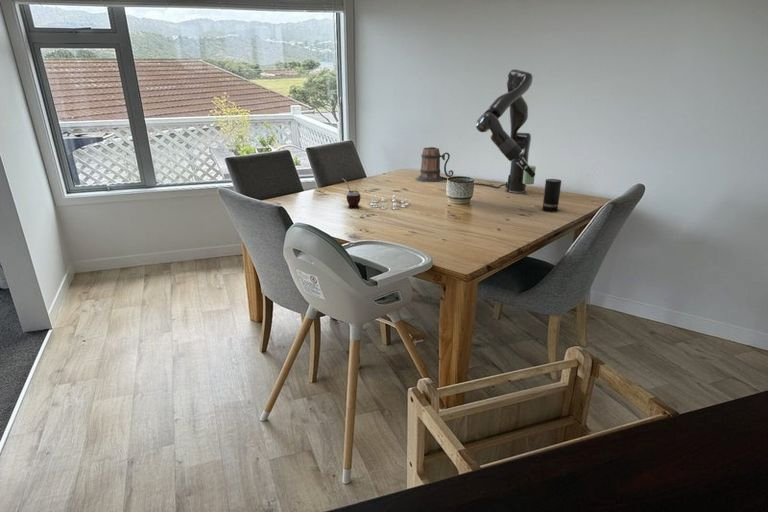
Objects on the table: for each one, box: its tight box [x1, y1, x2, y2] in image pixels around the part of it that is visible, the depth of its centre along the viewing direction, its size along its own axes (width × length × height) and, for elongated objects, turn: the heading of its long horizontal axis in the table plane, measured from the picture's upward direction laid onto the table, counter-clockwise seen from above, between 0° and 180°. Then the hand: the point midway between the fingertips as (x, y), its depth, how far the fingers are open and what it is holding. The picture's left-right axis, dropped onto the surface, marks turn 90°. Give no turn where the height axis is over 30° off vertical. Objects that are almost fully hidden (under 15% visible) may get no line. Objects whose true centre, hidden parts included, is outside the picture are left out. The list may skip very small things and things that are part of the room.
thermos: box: [542, 178, 562, 213], centre depth 233 cm, size 7×7×15 cm
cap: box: [523, 165, 537, 185], centre depth 225 cm, size 5×5×8 cm
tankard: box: [416, 146, 454, 183], centre depth 305 cm, size 24×17×20 cm
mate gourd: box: [341, 177, 361, 209], centre depth 238 cm, size 8×8×15 cm
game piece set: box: [369, 193, 410, 210], centre depth 245 cm, size 19×20×4 cm
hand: (533, 174), depth 225 cm, fingers closed on cap, 5 cm apart
